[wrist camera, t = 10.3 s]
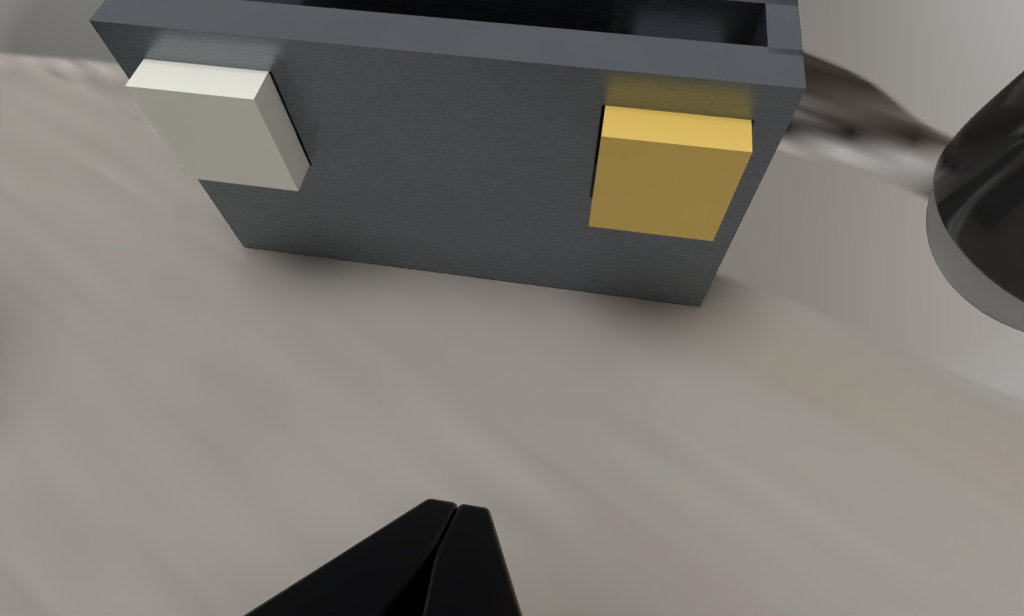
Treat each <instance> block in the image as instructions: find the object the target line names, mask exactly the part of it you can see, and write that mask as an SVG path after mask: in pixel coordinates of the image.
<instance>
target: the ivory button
mask: <svg viewBox="0 0 1024 616" xmlns="http://www.w3.org/2000/svg"><path fill="white" fill-rule="evenodd" d="M126 88H127V89H128V91H129V92H130V93H131V95H132V96H133V98H134V99H135V101H136V102H137V103H138V105H139V106H140V108H141V109H142V111H143V112H144V114H145V115H146V116H147V118H148V119H149V121H150V122H151V124H152V125H153V126H154V128H155V129H156V131H157V132H158V134H159V135H160V136H161V138H162V139H163V141H164V142H165V144H166V145H167V146H168V148H169V149H170V151H171V152H172V154H173V155H174V156H175V158H176V159H177V161H178V162H179V164H180V165H181V166H182V168H183V169H184V171H185V172H186V174H187V175H188V176H189V178H193V179H201V180H209V181H217V182H226V183H234V184H242V185H251V186H259V187H267V188H275V189H284V190H292V191H299V188H300V186H301V184H302V182H303V179H304V177H305V175H306V172H307V170H308V168H309V166H310V165H309V163H308V160H307V158H306V156H305V154H304V151H303V149H302V147H301V144H300V142H299V140H298V138H297V135H296V133H297V129H296V127H295V124H294V122H293V120H292V117H291V115H290V113H289V111H288V108H287V106H286V104H285V101H284V99H283V97H282V94H281V92H280V90H279V87H278V85H277V83H276V81H275V78H274V76H273V74H272V72H269V71H259V70H249V69H239V68H229V67H219V66H209V65H199V64H189V63H179V62H169V61H159V60H149V59H143V61H142V62H141V64H140V65H139V67H138V68H137V70H136V71H135V72H134V74H133V75H132V77H131V78H130V80H129V81H128V83H127V84H126Z"/></svg>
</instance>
